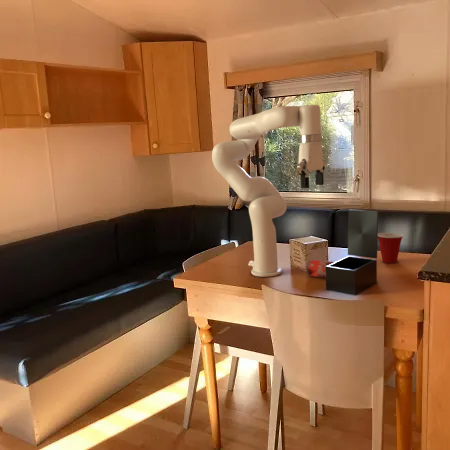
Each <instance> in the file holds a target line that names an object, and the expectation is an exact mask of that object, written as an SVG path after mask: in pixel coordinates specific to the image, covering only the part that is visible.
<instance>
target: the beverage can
mask: <svg viewBox="0 0 450 450" xmlns="http://www.w3.org/2000/svg"><path fill="white" fill-rule="evenodd" d="M334 262H335V261H327V260H320V259H314V258H312V259H309V260H308V262H307V264H306V267H305V269H306V275H308V276H309V277H315V278H319V279H320V278H321V279H326V266H328V265H330V264H332V263H334Z"/></svg>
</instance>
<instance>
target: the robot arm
mask: <svg viewBox="0 0 450 450" xmlns="http://www.w3.org/2000/svg"><path fill="white" fill-rule="evenodd" d="M321 116H322V114H321V107H320V105H319V104H305V105H304V104H303V105H284V106H283V105H282V106H276V107H273V108H269V109H265V110H263V111H261V112H258V113H255V114H251V115H247V116H243V117H239V118H237V119H235V120H233V121H232V122H231V123H230V125H229V129H228V130H229V133H230V136H231V137H232V138H233V139H235V140H226V141H220V142H219V143H216V144H215V146H214V147H213V148H212V151H211V162H212V165H213V167H214V168H215V170H216V171H217V172H218V174H220V176H222V178H223V179H224V180H225V181H226V182H227V183H228V185H229V186H230V188H231V189H232V190H233V191H234V192H235V193H236V195H237V196H238V198H240V199H241V200H242V201H244V202H250V204H249V206H248V214H249V219H250V224H251V229H252V243H253V244H252V245H253V246H252V247H253V260H252V259H251V260H249V262H248V264H247V265H248V267H252V269H251V271H250V273H251V275H252V276H255V277H259V278H268V277H275V276H279V275H281V274H282V273H283V272H282V271H283V270H282V268H281V267H279V266H278V247H277V246H278V245H277V229H276V226H275V224H274V222H273V219H275V218H279V217H281V216H283V215H284V214H285V213H286V211H287V206H288V205H287V202H286V200H285V198H284V197H283V195H282V194H281V192H280V191H279V190H278V189H277V188H276V187H275V185H273V183H272V182H271V181H270V180H269V179H268V178H266V177H265V176H250V175H249V174H248V173H247V172H246V171H245V169H244V168H243V167H241V166H240V165H239V164H238V163H235V162H236V161H242V160H245V159H246V158H248V157H249V156H250V155H251V153H252V151H253V149H254V147H255V145H256V144H257V142H258V141H259V139H260V137H261V136H265V135H267V134H268V133H269V132H270V131H272V130H277V129H283V128H294V127H299V139H300V142H299V143H300V144H299V149H298V165H297V166H296V169H297V171H298V174H299V178H300V188H301V189H310V177H308V176H309V174H310V172H315V175H314V178H315V180H314V181H315V182H314V183H315V186H323V185H324V184H325V182H324V174H325V170H326V162H327V161H325V160H324V155H323V154H324V153H323V146H322V118H321Z"/></svg>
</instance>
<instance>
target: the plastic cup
mask: <svg viewBox="0 0 450 450" xmlns="http://www.w3.org/2000/svg"><path fill="white" fill-rule="evenodd" d="M403 237H404V234H402V233H395V232H378V244H379V250H380V256H381V260H382V262H383V263H386V264H396V263H398V259H399V253H400V248H401V242H402V239H403Z"/></svg>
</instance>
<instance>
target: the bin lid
mask: <svg viewBox="0 0 450 450" xmlns="http://www.w3.org/2000/svg"><path fill="white" fill-rule="evenodd" d="M347 220H348V222H347V223H348V224H347V225H348V226H347V228H348V229H347V256H353V257H360V258H368V259H378V244H379V240H378V233H379V210H363V209H348V219H347Z"/></svg>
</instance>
